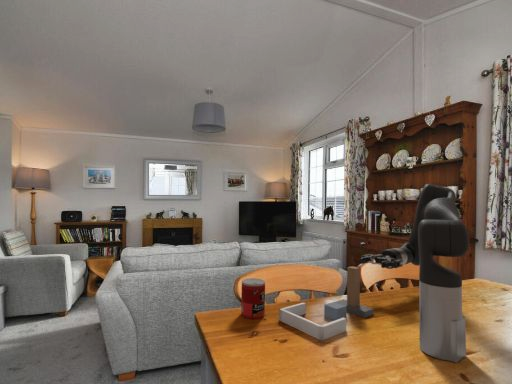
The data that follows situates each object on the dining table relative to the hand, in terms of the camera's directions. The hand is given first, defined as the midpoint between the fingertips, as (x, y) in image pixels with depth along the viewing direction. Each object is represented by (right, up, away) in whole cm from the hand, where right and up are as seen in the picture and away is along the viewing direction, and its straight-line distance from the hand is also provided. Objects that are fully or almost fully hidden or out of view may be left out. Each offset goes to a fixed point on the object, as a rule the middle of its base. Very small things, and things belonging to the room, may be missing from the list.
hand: (371, 262), depth 110 cm
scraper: (-9, -15, -8) cm, 19 cm away
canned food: (-44, -14, -13) cm, 48 cm away
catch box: (-26, -14, -21) cm, 36 cm away
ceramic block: (-17, -15, -14) cm, 26 cm away
